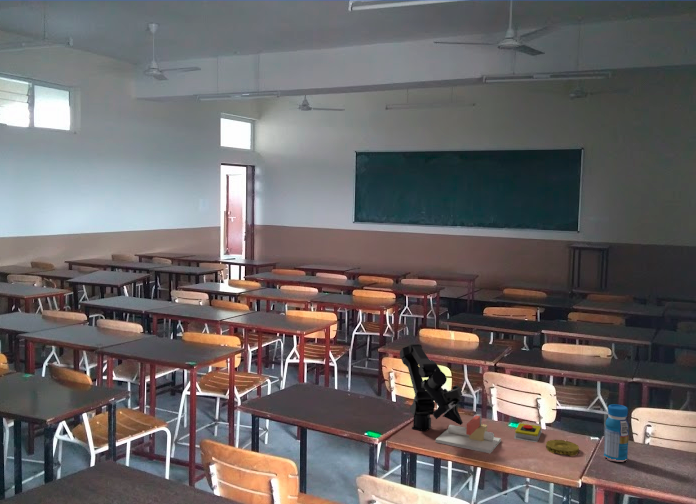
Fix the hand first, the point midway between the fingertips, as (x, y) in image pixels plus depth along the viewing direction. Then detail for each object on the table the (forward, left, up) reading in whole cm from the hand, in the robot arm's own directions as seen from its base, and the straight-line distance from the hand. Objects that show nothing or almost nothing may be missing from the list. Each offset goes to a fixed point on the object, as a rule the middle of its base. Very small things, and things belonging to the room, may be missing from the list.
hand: (461, 424), depth 247 cm
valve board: (+2, +3, -8) cm, 9 cm away
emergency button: (+21, +24, -8) cm, 33 cm away
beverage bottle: (+55, +15, -8) cm, 58 cm away
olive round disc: (+36, +14, -8) cm, 39 cm away
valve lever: (+5, 0, -1) cm, 5 cm away
